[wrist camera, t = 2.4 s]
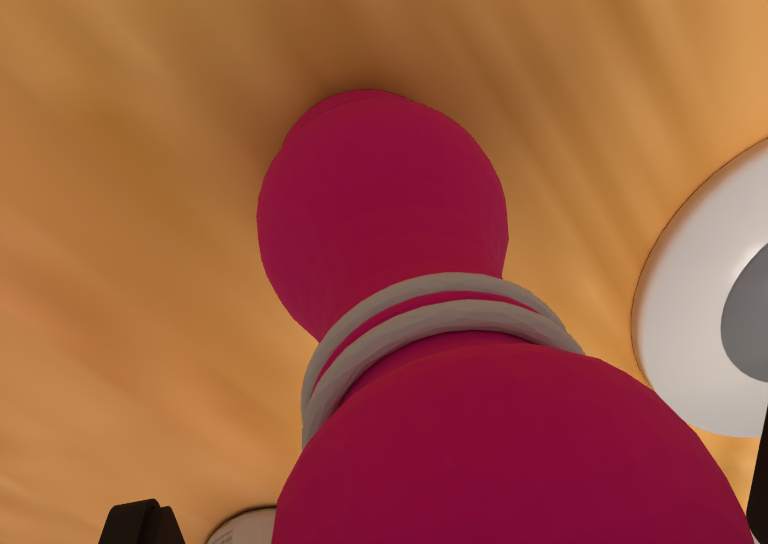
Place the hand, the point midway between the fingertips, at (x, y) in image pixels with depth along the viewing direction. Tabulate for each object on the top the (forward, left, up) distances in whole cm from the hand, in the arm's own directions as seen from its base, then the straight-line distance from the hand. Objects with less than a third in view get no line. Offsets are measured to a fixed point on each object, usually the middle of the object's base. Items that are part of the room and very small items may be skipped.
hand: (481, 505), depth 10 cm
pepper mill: (-1, 0, -15) cm, 15 cm away
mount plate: (+7, +18, -14) cm, 24 cm away
